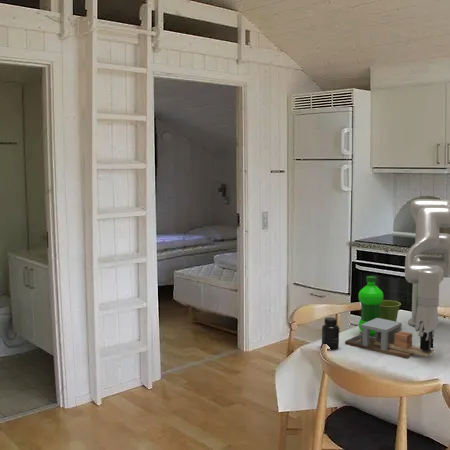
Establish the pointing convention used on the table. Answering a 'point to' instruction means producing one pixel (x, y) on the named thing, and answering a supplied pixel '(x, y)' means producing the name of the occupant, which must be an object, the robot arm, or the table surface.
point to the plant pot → (389, 310)
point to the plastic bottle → (370, 302)
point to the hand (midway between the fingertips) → (426, 348)
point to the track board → (376, 347)
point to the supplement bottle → (330, 333)
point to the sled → (405, 343)
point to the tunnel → (380, 331)
